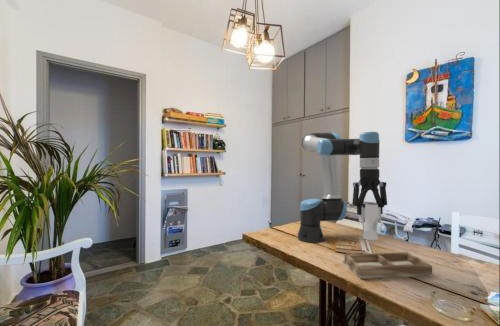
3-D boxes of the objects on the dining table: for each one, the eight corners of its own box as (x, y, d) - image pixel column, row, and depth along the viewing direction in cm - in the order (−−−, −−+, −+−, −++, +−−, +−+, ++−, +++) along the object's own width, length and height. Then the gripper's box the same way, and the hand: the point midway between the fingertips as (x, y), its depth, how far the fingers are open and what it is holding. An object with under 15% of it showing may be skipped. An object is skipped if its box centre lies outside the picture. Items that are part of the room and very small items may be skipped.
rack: (344, 263, 110) (344, 254, 109) (407, 261, 111) (407, 252, 111) (360, 279, 96) (360, 268, 96) (432, 275, 97) (432, 265, 97)
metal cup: (369, 234, 107) (369, 201, 107) (383, 239, 101) (383, 204, 100) (357, 236, 105) (357, 202, 104) (370, 241, 98) (370, 205, 98)
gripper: (351, 169, 98) (351, 225, 98) (397, 168, 99) (397, 223, 99) (343, 168, 105) (343, 220, 106) (386, 167, 106) (386, 219, 107)
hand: (369, 221), depth 103 cm, fingers closed on metal cup, 7 cm apart
